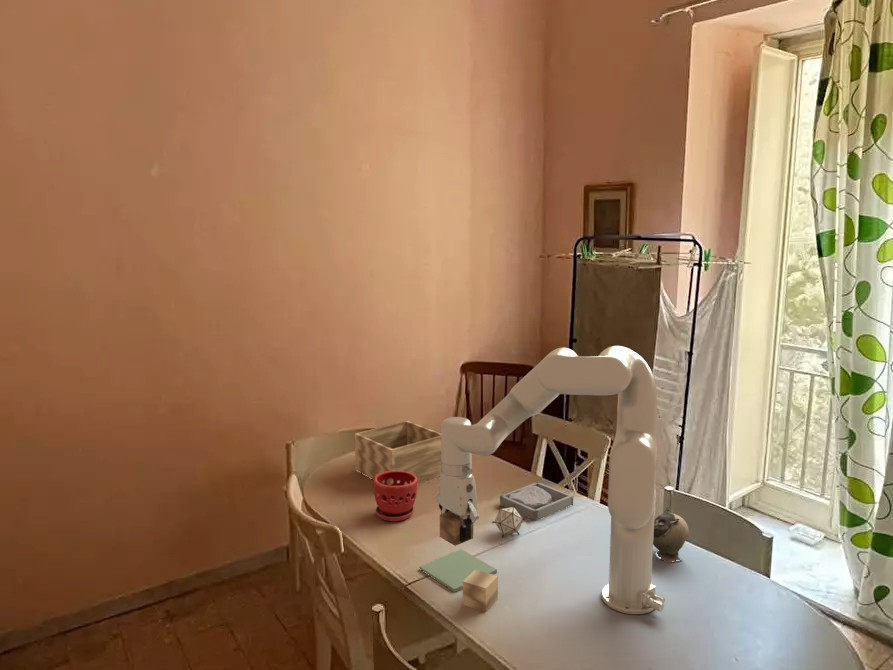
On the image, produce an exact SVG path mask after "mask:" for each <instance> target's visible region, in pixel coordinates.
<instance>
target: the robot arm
mask: <svg viewBox="0 0 893 670" xmlns="http://www.w3.org/2000/svg"><path fill="white" fill-rule="evenodd" d="M657 388H658V387H657V383H656V379H655V376H654V374H653V371H652V369H651V368H650V366H649V364H648V363H647V361H646V360H645V359H644V358H643V357H642V356H641V355H639V354H638V353H637V352H635V351H634V350H632V349H631V348H628V347H625V346H622V345H613V346H608V347H607V348H605V349H603V351H601V352H600V353H599V355H598V356H597V355H596V356H595V355H594V356H593V355H591V356H582V355H580V356H579V355H578V354H577V353H576V352H575V351H574V350H572V349H571V348H568V347H558V348H555V349H554V350H552V351H550V352H549V353H548V354H547V355H546V356H545V357H543V359H542V360H540V362H539V363H537V364H536V365H535V366H534V367H533V368H532V369H531V370H530V371H529V372H528V373H526V375H524V377H523V378H521V379H520V380H519V381H518V382H517V383H516V384H514V386H513V387H512V388H511V390H510V391H509V393H507V395H506V396H505V397H503V398H502V399H501V400H500V401H499V402H498V403H497V404H496V405H495V406H494V407H493V408H492V409H491V410H490V411H489V412H487V414H485V416H483V417H482V418H481V419H480V420H479V421H478V422H477V423H475V424H472V422H471V421H470V420H469V418H466V417H462V416H450V417H448V418H445V419H444V420H443V421H442V422H441V426H440V427H441V428H440V430H441V432H440V433H441V473H440V476H439V480H438V481H439V483H438V494H437V495H436V497H435V500H436V502H437V504H438V507H439V510H440V514H443V513H446V512H449V511H451V512H453V513H455V514H457V515H459V517H460V521H461V525H462V526H461V527H460V541H461V542H463V543H465V542H464V541H466V542H468V541H470V540H469V539H471V525H472V524H473V525H474V524H475V522H476V521H477V520H478V519H479V518H480V515H479V513H478V499H477V485H476V479H475V477H474V474H473V468H472V467H473V466H472V465H473V461H472V460H473V457H472V456H473V454H474V455H476V456H480V457H487V456H490V455H493V454H494V453H495V452H496V451H497V450H498V448H499V447H500V446H501V444H502V442H503V441H504V440H505V439H506V438H507V437H508V436H509V435H510V434H511V433H512V432H514V431H515V430H516V429H517V428H518V427H519V426H520V425H521V424H523V422H525V421H526V420H527V419H529V418H530V417H533V416H536V415H538V414H540V413H541V412H543V410H544V409H546V407H548V405H550V404H551V403H552V402H553V401H554V400H555V399H557V397H558V396H559V395H576V396H578V395H579V396H612V395H613V396H614V395H617V409H616V410H617V418H616V431H615V437H614V439H613V442H612V445H611V449H610V454H609V464H608V466H609V467H608V492H607V509H608V513H609V515H610V535H609V536H610V537H609V539H610V540H609V570H608V583H607V584H606V585H604V586H603V587H602V590H601V599H602V601H603V602H604V603H605V605H606V606H608V607H610V608H611V609H613V610H615V611H617V612H620V613H622V614H629V615H643V614H644V615H645V614H648V613H650V612H652V611H654V610H657V611H658V612H660V613H661V612H662V611H663V610H664V608H665V604H664V603H665V601H666V599H665V598H664V597H663V596H661V595H658V594H657V592H656V585H654V584H652V578H653V577H652V575H653V574H652V573H653V556H654V555H653V551H654V550H653V549H654V545H653V538H654V519H655V515H656V514H655V511H656V498H657V496H656V495H657V489H656V472H657V459H658V444H657V428H658V427H657V426H658V425H657V423H658V421H657V420H658V390H657ZM465 512H466V513H465ZM465 516H467V520H466V521H465V518H464V517H465ZM467 540H468V541H467ZM471 540H472V539H471Z"/></svg>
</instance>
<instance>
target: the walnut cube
mask: <svg viewBox="0 0 893 670" xmlns="http://www.w3.org/2000/svg"><path fill="white" fill-rule="evenodd" d="M465 513H466V512H465ZM464 518H465V521H466V520H467V516H465V517H464ZM461 526H462V525H461V521H460V517H459V515H457V514H455V513H453V512H451V511H449V512H446V513H443V514H441V513H440V514H439V538H441V539H443V540H444V541H446V542H448V543H449V544H452V545H453V546H455V547H456V546H458V545H461V544H463V543H465V542H468V541H470V540H473V539H474V523H473V524H472V525H471V539H469V540H467V541H464V542H461V541H460V527H461Z"/></svg>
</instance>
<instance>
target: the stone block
mask: <svg viewBox="0 0 893 670" xmlns="http://www.w3.org/2000/svg"><path fill="white" fill-rule="evenodd" d="M526 486H527V487H525V486H524V487H525V488H523V489H522V490H520V491H519V492H518V493H515V494H514V493H512V494H510V496H509V498H510V499H512V500H515V501H517V502H519V503H522V504H524V505H526V506H528V507H531V508H533V509H538V508H540V507H543V506H545V505H548V504H550V503H552V502H553V500H552V499H553V498H551V495H550V494H549V493H548V492H546V491H545V490H543V489H542V488H539V487H536V486H528V485H526Z"/></svg>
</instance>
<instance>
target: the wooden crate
mask: <svg viewBox="0 0 893 670" xmlns="http://www.w3.org/2000/svg"><path fill="white" fill-rule="evenodd" d="M354 453H355V456H354V457H355V460H354V461H355V471H356V470H358V471H360V472H361V473H363V474H365V475H367V476H368V477H370V478H372V479H373V480H374V478H375V476H376V475H378V474H380V473H383V472H387V471H404V472H409V473H411V474H413V475H415V476H416V477H417V484H418V483H422V482H425V481H429V480H431V479H435V478H437V477H440V473H441V432H438V431H436V430H433V429H430V428H428V427H425V426H423V425H420V424H417V423H415V422H412V421H409V420H404V421H399V422H396V423H393V424H388V425H383V426H380V427H376V428H372V429H366V430H364V431H359V432H355V433H354ZM373 480H372V481H373ZM384 482H385V481H383V483H384ZM410 482H411V481H410ZM397 483H400V481H399V480H398V481H397ZM411 483H412V482H411ZM387 484H388V485H391V484H393V479H388V480H387ZM407 484H408V483H407V482H405V485H407Z"/></svg>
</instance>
